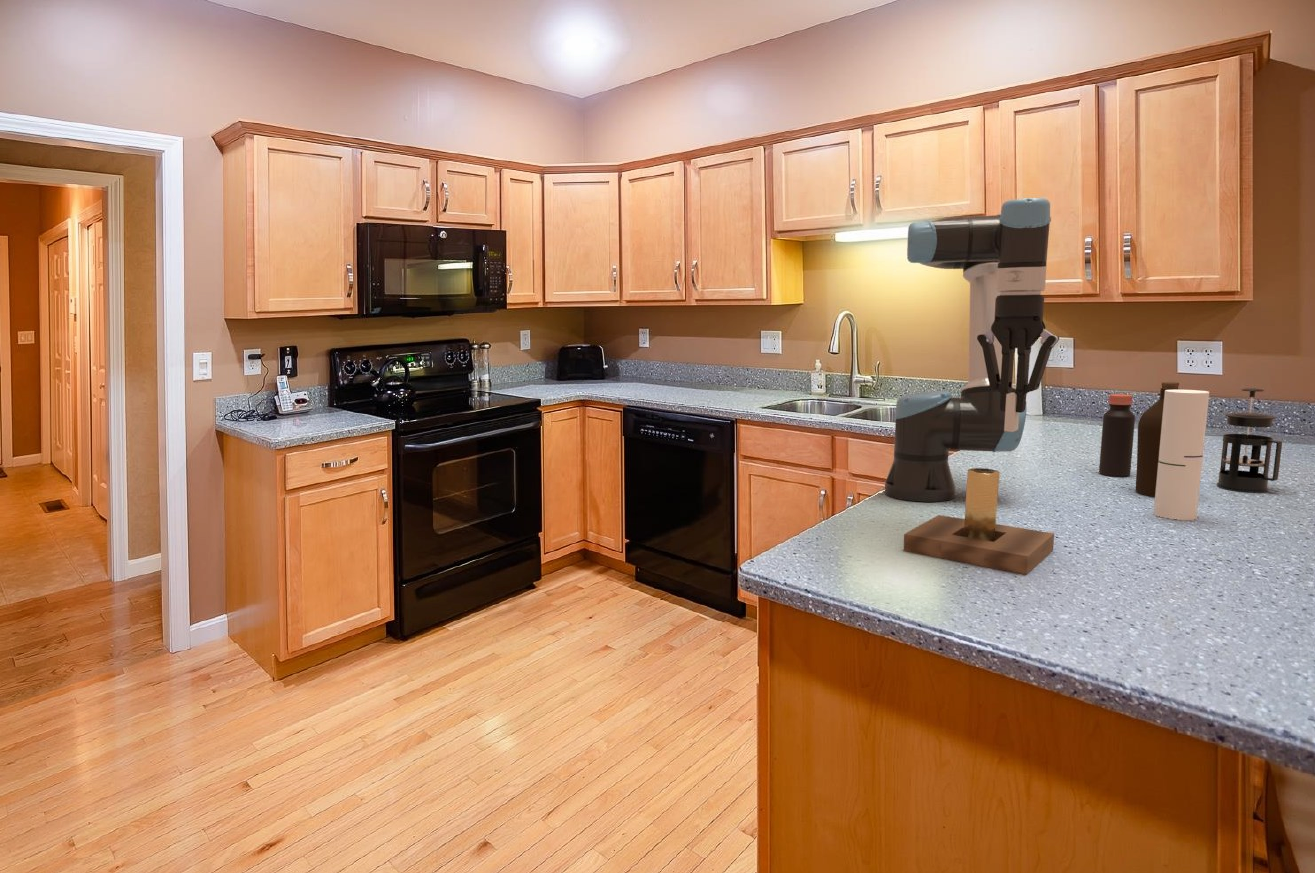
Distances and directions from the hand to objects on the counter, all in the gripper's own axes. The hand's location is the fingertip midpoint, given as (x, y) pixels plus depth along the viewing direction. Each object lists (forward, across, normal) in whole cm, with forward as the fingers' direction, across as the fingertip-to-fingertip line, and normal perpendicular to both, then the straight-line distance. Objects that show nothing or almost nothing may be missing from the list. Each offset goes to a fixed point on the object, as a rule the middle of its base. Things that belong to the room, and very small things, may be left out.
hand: (1011, 430), depth 133 cm
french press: (+22, +28, +76) cm, 84 cm away
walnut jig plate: (+20, -2, -8) cm, 22 cm away
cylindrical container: (+21, +20, +39) cm, 49 cm away
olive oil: (+22, +15, +59) cm, 64 cm away
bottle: (+22, +2, +76) cm, 79 cm away
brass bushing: (+20, -2, -8) cm, 22 cm away
